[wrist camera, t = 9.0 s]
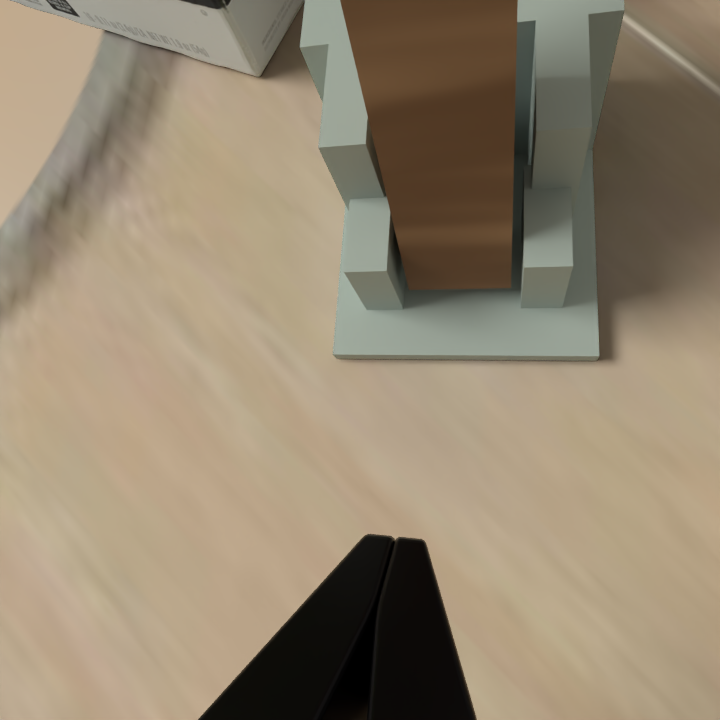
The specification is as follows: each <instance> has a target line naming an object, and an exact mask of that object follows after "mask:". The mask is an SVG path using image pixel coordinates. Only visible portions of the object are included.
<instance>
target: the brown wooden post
mask: <svg viewBox="0 0 720 720" xmlns="http://www.w3.org/2000/svg"><path fill="white" fill-rule="evenodd" d="M340 2H341V6H342V10H343V15H344V19H345V23H346V27H347V31H348V36H349V40H350V44H351V48H352V52H353V57H354V61H355V65H356V69H357V73H358V78H359V82H360V86H361V90H362V95H363V99H364V103H365V107H366V111H367V116H368V120H369V124H370V128H371V132H372V137H373V141H374V145H375V149H376V153H377V158H378V162H379V166H380V170H381V174H382V179H383V183H384V187H385V191H386V196H387V200H388V204H389V208H390V212H391V217H392V221H393V225H394V229H395V233H396V238H397V242H398V246H399V250H400V254H401V259H402V263H403V267H404V271H405V275H406V280H407V284H408V288H409V290H434V289H489V288H511V266H512V223H513V180H514V137H515V94H516V51H517V8H518V0H340Z"/></svg>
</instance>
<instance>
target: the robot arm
mask: <svg viewBox="0 0 720 720" xmlns="http://www.w3.org/2000/svg"><path fill="white" fill-rule="evenodd" d="M198 720H477V718H476V715H475V712H474V708H473V705H472V701H471V698H470V694H469V691H468V687H467V684H466V680H465V677H464V673H463V670H462V666H461V663H460V659H459V656H458V652H457V649H456V646H455V642H454V639H453V635H452V632H451V628H450V625H449V621H448V618H447V614H446V611H445V607H444V604H443V600H442V597H441V593H440V590H439V587H438V583H437V580H436V576H435V573H434V569H433V566H432V562H431V559H430V555H429V552H428V548H427V545H426V543H425V541H424V540H422V539H415V538H406V537H398V538H397V539H396V540H395V539H394V538H393V537H392V536H386V535H376V534H367V535H365V536H364V537H363V538H362V539H361V540H360V541H359V542H358V543H357V544H356V546H355V547H354V548H353V549H352V550H351V551H350V552H349V553H348V554H347V555H346V557H345V558H344V559H343V560H342V561H341V562H340V563H339V564H338V565H337V567H336V568H335V569H334V570H333V571H332V572H331V573H330V574H329V575H328V576H327V578H326V579H325V580H324V581H323V582H322V583H321V584H320V585H319V586H318V588H317V589H316V590H315V591H314V592H313V593H312V594H311V595H310V596H309V597H308V599H307V600H306V601H305V602H304V603H303V604H302V605H301V606H300V607H299V609H298V610H297V611H296V612H295V613H294V614H293V615H292V616H291V617H290V619H289V620H288V621H287V622H286V623H285V624H284V625H283V626H282V627H281V628H280V630H279V631H278V632H277V633H276V634H275V635H274V636H273V637H272V638H271V640H270V641H269V642H268V643H267V644H266V645H265V646H264V647H263V648H262V649H261V651H260V652H259V653H258V654H257V655H256V656H255V657H254V658H253V659H252V661H251V662H250V663H249V664H248V665H247V666H246V667H245V668H244V669H243V670H242V672H241V673H240V674H239V675H238V676H237V677H236V678H235V679H234V680H233V682H232V683H231V684H230V685H229V686H228V687H227V688H226V689H225V690H224V691H223V693H222V694H221V695H220V696H219V697H218V698H217V699H216V700H215V701H214V703H213V704H212V705H211V706H210V707H209V708H208V709H207V710H206V711H205V712H204V714H203V715H202V716H201V717H200V718H199V719H198Z"/></svg>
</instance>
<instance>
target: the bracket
mask: <svg viewBox="0 0 720 720" xmlns="http://www.w3.org/2000/svg"><path fill="white" fill-rule="evenodd" d="M623 14H624V0H518V8H517V51H516V94H515V137H514V180H513V223H512V266H511V288H489V289H434V290H409V288H408V284H407V280H406V275H405V271H404V267H403V263H402V259H401V254H400V250H399V246H398V242H397V238H396V233H395V229H394V225H393V221H392V217H391V212H390V208H389V204H388V200H387V196H386V191H385V187H384V183H383V179H382V174H381V170H380V166H379V162H378V158H377V153H376V149H375V145H374V141H373V137H372V132H371V128H370V124H369V120H368V116H367V111H366V107H365V103H364V99H363V95H362V90H361V86H360V82H359V78H358V73H357V69H356V65H355V61H354V57H353V52H352V48H351V44H350V40H349V36H348V31H347V27H346V23H345V19H344V15H343V10H342V6H341V2H340V0H305V5H304V13H303V22H302V31H301V39H300V49H301V52H302V54H303V57H304V59H305V62H306V64H307V66H308V69H309V71H310V74H311V76H312V78H313V81H314V83H315V86H316V88H317V90H318V93H319V95H320V98H321V100H322V102H323V106H322V116H321V126H320V136H319V146H318V148H319V150H320V152H321V154H322V156H323V158H324V161H325V163H326V165H327V167H328V169H329V171H330V173H331V175H332V177H333V179H334V182H335V184H336V186H337V188H338V190H339V192H340V194H341V196H342V198H343V200H344V203H345V216H344V228H343V240H342V252H341V264H340V275H339V287H338V299H337V311H336V323H335V335H334V346H333V355H334V356H335V357H336V358H337V359H435V360H560V361H597V360H598V358H599V331H598V302H597V272H596V242H595V212H594V183H593V153H592V149H593V144H594V140H595V136H596V131H597V127H598V123H599V118H600V114H601V110H602V105H603V101H604V97H605V92H606V88H607V84H608V79H609V75H610V71H611V66H612V62H613V58H614V53H615V49H616V45H617V40H618V36H619V32H620V27H621V23H622V19H623Z"/></svg>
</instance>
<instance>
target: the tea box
mask: <svg viewBox="0 0 720 720" xmlns="http://www.w3.org/2000/svg"><path fill="white" fill-rule="evenodd" d="M11 1H15V2H18V3H20V4H22V5H24V6H27V7H31V8H34V9H37V10H40V11H43V12H47V13H51V14H55V15H58V16H61V17H65V18H68V19H70V20H73V21H75V22H78V23H81V24H85V25H88V26H92V27H95V28H99V29H103V30H107V31H110V32H113V33H116V34H120V35H123V36H126V37H128V38H130V39H133V40H136V41H139V42H142V43H146V44H149V45H153V46H157V47H162V48H165V49H169V50H172V51H175V52H179V53H182V54H185V55H187V56H190V57H192V58H194V59H198V60H201V61H204V62H207V63H211V64H214V65H217V66H223V67H227V68H231V69H234V70H237V71H240V72H243V73H246V74H250V75H253V76H256V77H260V76H261V74H262V73H263V71H264V69H265V67H266V66H267V64H268V62H269V61H270V59H271V57H272V56H273V54H274V52H275V51H276V49H277V47H278V45H279V44H280V42H281V40H282V39H283V37H284V35H285V33H286V32H287V30H288V28H289V26H290V25H291V23H292V21H293V19H294V18H295V16H296V14H297V13H298V11H299V9H300V7H301V6H302V4H303V2H304V1H305V0H11Z"/></svg>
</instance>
